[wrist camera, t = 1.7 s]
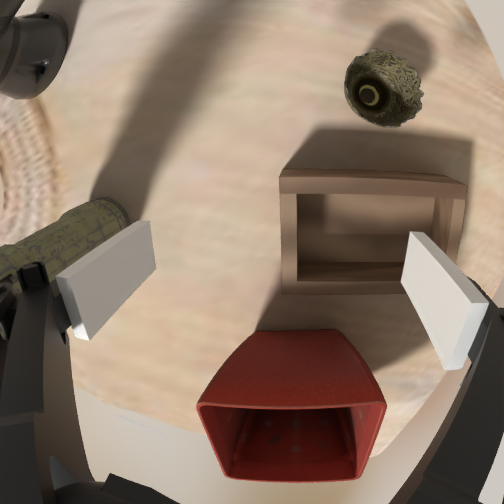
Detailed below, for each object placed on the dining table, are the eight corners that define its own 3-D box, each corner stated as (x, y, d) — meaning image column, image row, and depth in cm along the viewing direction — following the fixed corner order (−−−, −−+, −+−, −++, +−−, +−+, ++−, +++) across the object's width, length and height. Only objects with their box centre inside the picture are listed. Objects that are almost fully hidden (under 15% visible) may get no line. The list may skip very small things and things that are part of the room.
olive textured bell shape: (355, 137, 31) (371, 140, 24) (322, 81, 29) (329, 67, 22) (408, 112, 28) (437, 109, 21) (377, 56, 26) (397, 38, 19)
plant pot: (365, 307, 39) (390, 402, 24) (353, 397, 46) (359, 480, 31) (228, 311, 42) (192, 402, 27) (244, 398, 50) (225, 478, 34)
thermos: (145, 209, 38) (-85, 392, 6) (117, 272, 43) (-44, 443, 11) (98, 176, 37) (-134, 297, 5) (75, 240, 42) (-95, 375, 10)
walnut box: (282, 169, 34) (278, 177, 28) (443, 175, 30) (467, 185, 25) (285, 269, 38) (282, 294, 33) (431, 269, 35) (448, 292, 30)
